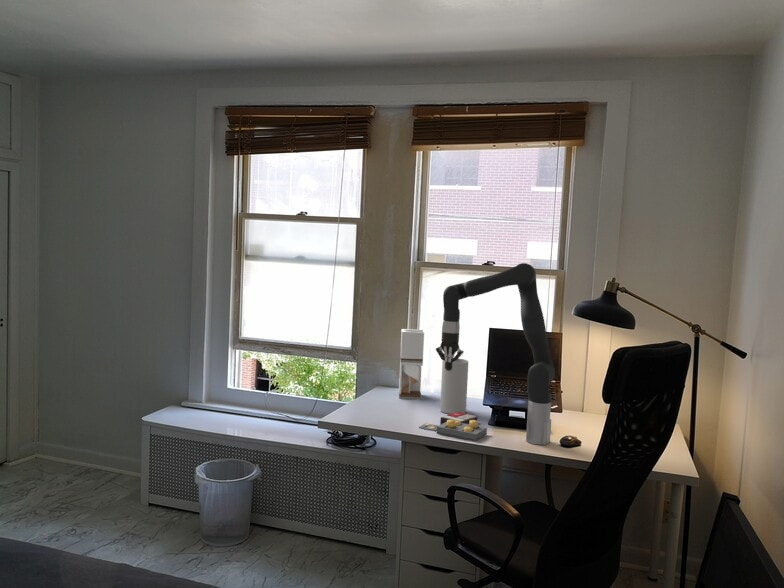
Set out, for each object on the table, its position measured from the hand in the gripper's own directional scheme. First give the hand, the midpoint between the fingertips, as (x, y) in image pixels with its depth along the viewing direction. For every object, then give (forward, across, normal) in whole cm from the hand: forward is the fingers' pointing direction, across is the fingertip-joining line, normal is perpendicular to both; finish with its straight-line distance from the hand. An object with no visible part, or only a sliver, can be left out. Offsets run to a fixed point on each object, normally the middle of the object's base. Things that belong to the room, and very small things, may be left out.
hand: (448, 370), depth 284 cm
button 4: (+23, -14, +1) cm, 27 cm away
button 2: (+25, -6, +1) cm, 25 cm away
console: (+26, -10, +4) cm, 28 cm away
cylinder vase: (+26, +9, -28) cm, 40 cm away
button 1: (+23, -6, +7) cm, 25 cm away
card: (+26, +5, +4) cm, 27 cm away
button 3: (+25, -14, +7) cm, 29 cm away
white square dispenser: (+26, +40, -42) cm, 64 cm away
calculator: (+26, -2, -10) cm, 28 cm away
